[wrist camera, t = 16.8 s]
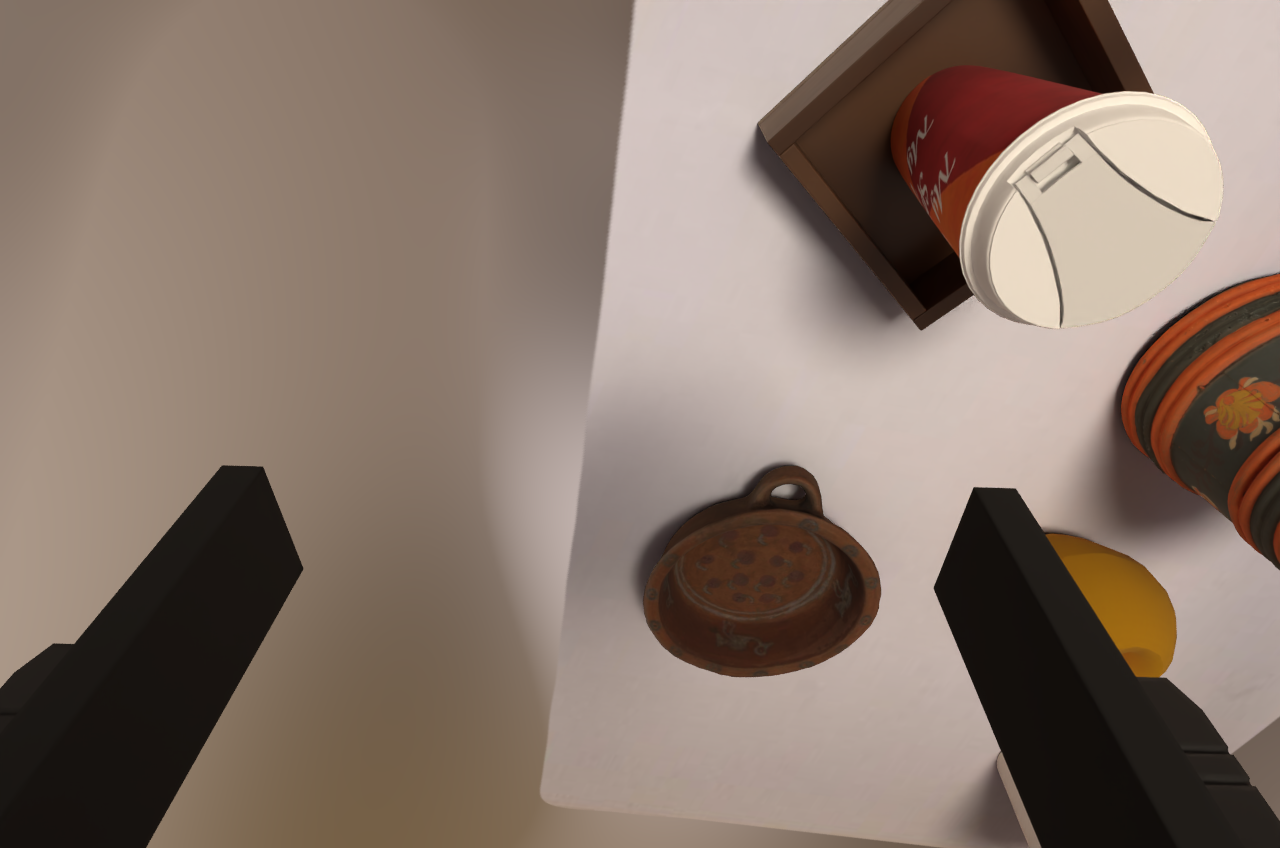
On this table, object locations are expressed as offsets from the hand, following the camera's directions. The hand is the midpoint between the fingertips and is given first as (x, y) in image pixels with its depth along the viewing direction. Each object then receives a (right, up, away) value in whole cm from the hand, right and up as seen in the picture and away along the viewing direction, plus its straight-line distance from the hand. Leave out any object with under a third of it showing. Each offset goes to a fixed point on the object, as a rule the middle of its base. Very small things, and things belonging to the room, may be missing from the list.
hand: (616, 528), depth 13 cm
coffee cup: (+16, +17, +22) cm, 32 cm away
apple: (+32, -8, +40) cm, 52 cm away
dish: (+10, -9, +42) cm, 43 cm away
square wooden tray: (+16, +17, +22) cm, 33 cm away
